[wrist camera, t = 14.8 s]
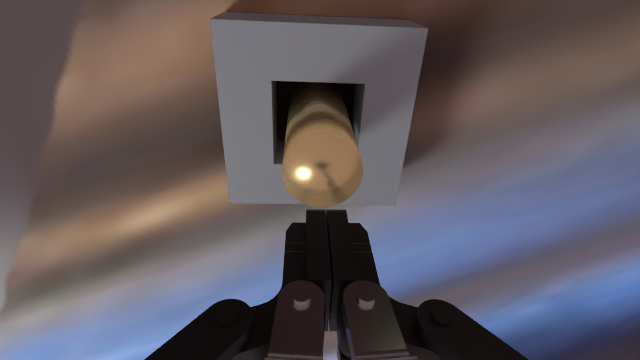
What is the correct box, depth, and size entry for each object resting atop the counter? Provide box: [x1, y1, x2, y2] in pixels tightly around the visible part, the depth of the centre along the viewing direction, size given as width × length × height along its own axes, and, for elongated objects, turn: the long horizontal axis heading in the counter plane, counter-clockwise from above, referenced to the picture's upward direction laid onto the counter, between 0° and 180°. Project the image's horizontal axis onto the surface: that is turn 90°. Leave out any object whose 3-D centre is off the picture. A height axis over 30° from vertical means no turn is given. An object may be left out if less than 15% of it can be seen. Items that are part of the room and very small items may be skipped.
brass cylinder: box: [282, 82, 363, 207], centre depth 22 cm, size 4×4×10 cm
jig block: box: [210, 12, 428, 205], centre depth 24 cm, size 12×12×4 cm
